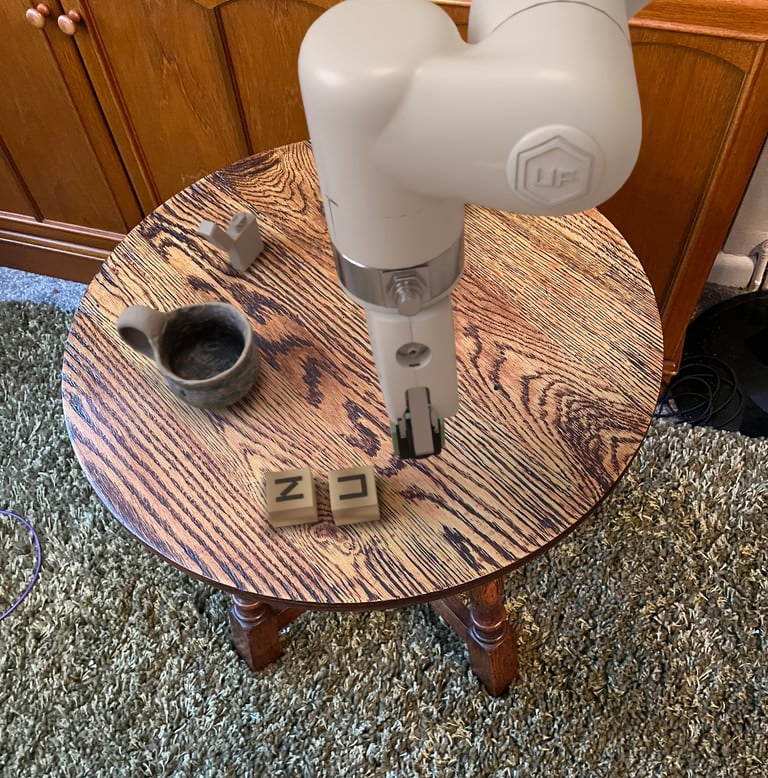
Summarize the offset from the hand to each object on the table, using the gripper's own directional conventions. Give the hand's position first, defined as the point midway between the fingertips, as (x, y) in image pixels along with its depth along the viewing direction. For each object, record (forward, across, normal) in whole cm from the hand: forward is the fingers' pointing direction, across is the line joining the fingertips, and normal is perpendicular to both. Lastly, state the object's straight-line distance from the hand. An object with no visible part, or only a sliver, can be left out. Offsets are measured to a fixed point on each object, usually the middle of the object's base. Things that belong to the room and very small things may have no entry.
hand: (416, 427), depth 60 cm
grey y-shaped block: (+11, +32, +16) cm, 37 cm away
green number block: (0, 0, 0) cm, 0 cm away
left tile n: (+11, +1, +12) cm, 16 cm away
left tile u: (+11, 0, +6) cm, 12 cm away
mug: (+11, +16, +20) cm, 27 cm away
